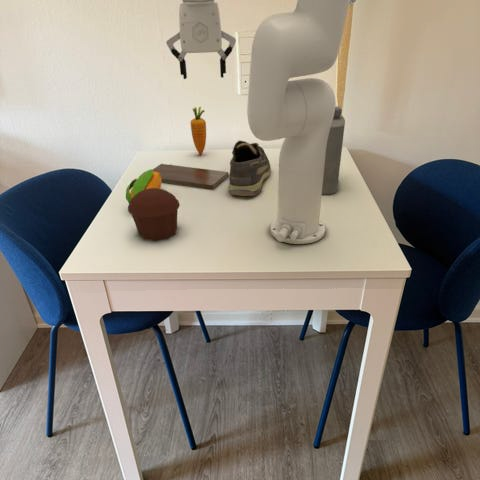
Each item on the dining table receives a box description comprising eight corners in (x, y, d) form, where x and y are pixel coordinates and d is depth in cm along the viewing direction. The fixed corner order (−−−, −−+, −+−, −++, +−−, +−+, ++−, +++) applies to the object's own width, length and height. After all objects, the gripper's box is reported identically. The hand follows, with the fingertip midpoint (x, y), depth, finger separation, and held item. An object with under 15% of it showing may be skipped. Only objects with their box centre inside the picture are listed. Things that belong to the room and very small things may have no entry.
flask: (339, 194, 118) (349, 115, 106) (318, 194, 118) (325, 115, 106) (334, 174, 130) (342, 100, 117) (314, 174, 130) (320, 100, 118)
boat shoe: (272, 162, 139) (272, 126, 133) (267, 200, 117) (268, 159, 110) (237, 162, 140) (236, 126, 134) (226, 199, 118) (224, 159, 111)
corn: (117, 186, 106) (142, 158, 122) (121, 215, 111) (144, 185, 127) (147, 189, 106) (168, 161, 121) (150, 218, 111) (170, 187, 126)
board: (212, 189, 123) (212, 185, 123) (143, 179, 131) (142, 175, 130) (228, 175, 131) (228, 171, 131) (161, 167, 138) (161, 163, 138)
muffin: (185, 220, 108) (180, 181, 102) (180, 242, 100) (175, 200, 94) (137, 222, 109) (129, 182, 102) (128, 244, 100) (119, 202, 94)
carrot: (202, 151, 150) (198, 103, 140) (211, 154, 146) (207, 106, 137) (190, 154, 147) (185, 106, 138) (199, 158, 144) (194, 109, 135)
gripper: (160, -2, 101) (169, 81, 112) (235, -5, 101) (237, 79, 112) (162, -4, 107) (171, 75, 117) (234, -6, 107) (236, 73, 118)
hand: (203, 77), depth 115 cm, fingers open, 9 cm apart
